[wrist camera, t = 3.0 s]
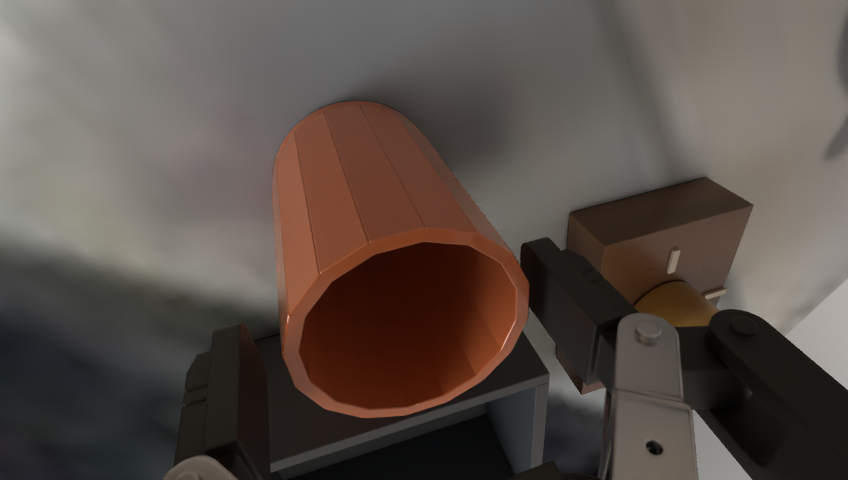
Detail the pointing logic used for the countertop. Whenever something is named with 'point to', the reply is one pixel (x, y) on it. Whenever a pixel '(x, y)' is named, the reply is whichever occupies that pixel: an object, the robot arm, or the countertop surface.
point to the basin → (412, 429)
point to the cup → (385, 267)
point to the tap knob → (677, 305)
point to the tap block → (660, 243)
